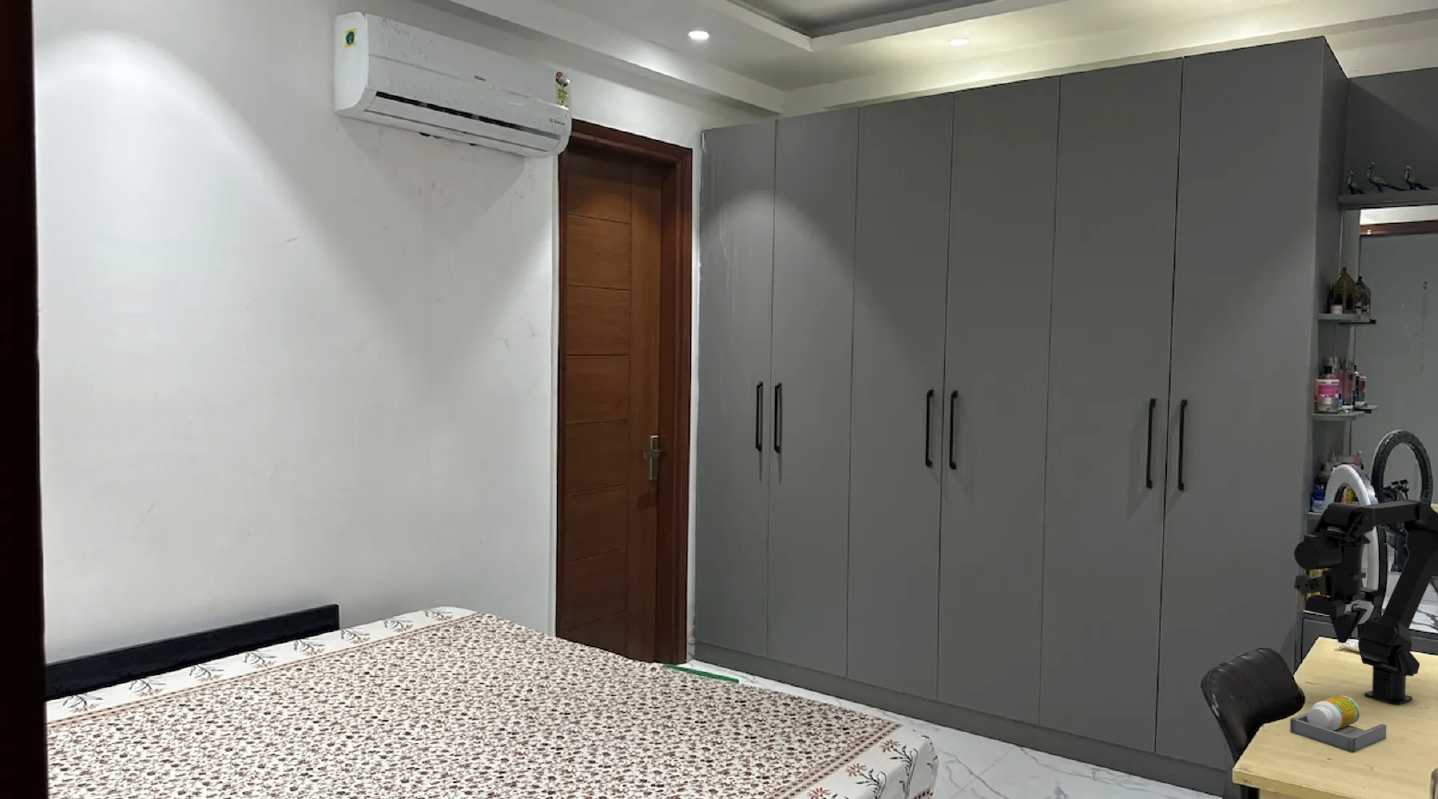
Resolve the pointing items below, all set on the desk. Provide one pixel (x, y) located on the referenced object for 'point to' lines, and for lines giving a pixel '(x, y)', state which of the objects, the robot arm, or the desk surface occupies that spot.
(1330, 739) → the tray
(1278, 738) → the desk surface
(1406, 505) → the robot arm
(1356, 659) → the desk surface
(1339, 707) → the supplement bottle
